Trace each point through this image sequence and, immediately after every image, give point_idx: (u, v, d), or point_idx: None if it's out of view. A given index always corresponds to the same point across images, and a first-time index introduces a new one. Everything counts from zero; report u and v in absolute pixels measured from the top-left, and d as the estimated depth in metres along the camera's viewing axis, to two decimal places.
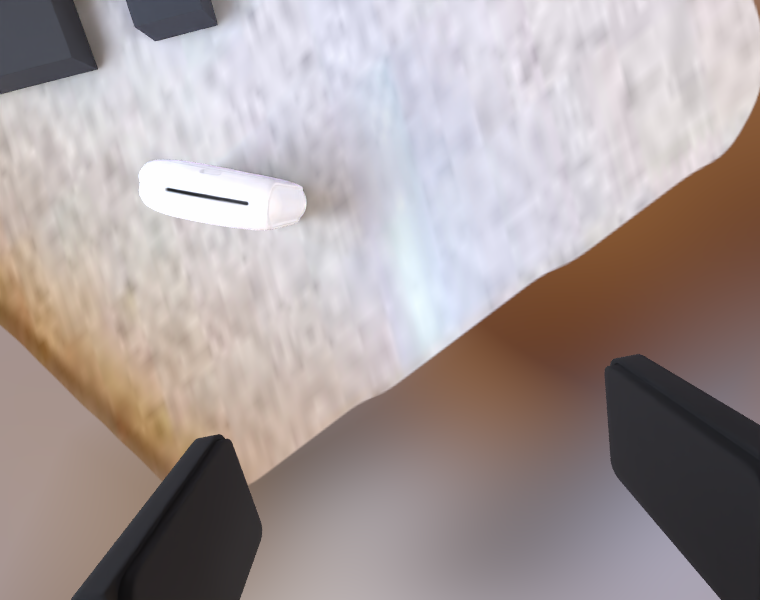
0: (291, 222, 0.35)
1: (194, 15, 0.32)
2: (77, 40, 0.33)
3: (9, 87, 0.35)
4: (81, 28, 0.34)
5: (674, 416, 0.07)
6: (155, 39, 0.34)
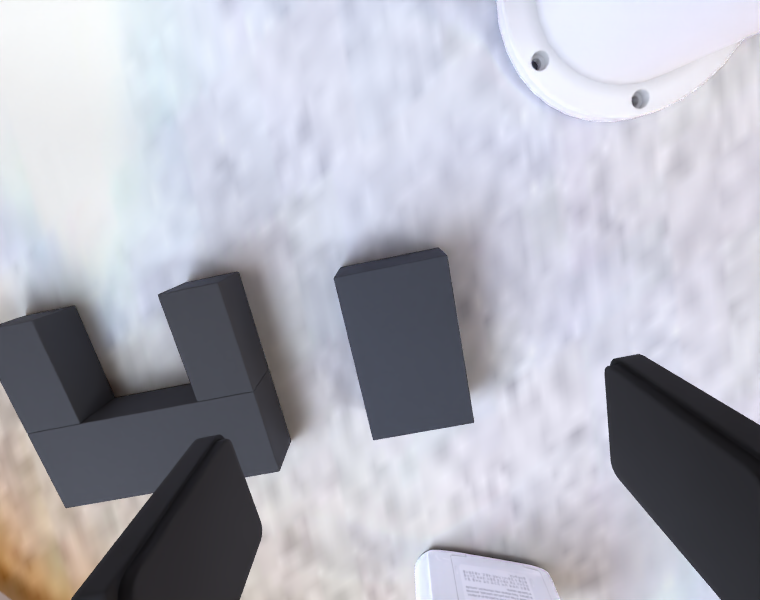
0: None
1: None
2: (278, 430, 0.24)
3: None
4: (277, 401, 0.25)
5: (674, 416, 0.07)
6: None
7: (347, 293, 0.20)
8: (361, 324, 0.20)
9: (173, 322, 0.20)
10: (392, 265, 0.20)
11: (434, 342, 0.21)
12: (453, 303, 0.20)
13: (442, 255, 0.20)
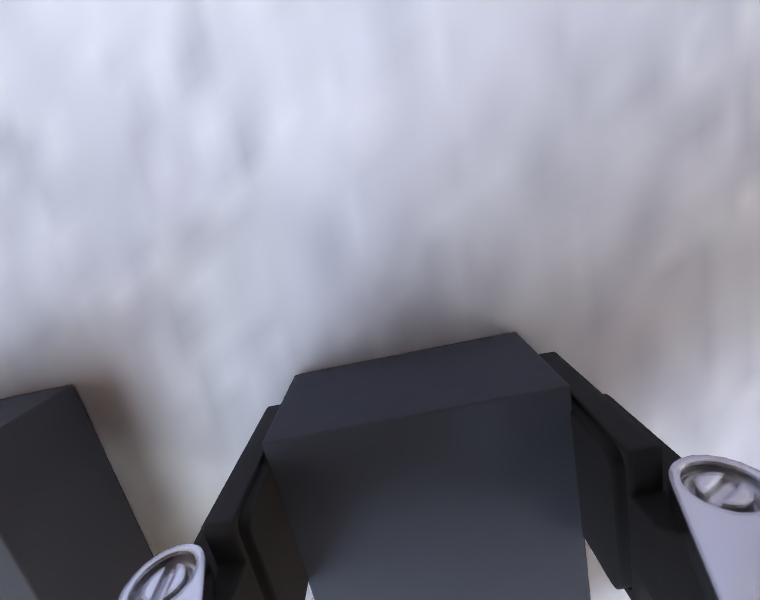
0: None
1: None
2: None
3: None
4: None
5: None
6: None
7: (299, 481, 0.08)
8: (337, 548, 0.08)
9: None
10: (418, 409, 0.07)
11: (523, 586, 0.08)
12: (577, 500, 0.08)
13: (555, 384, 0.07)
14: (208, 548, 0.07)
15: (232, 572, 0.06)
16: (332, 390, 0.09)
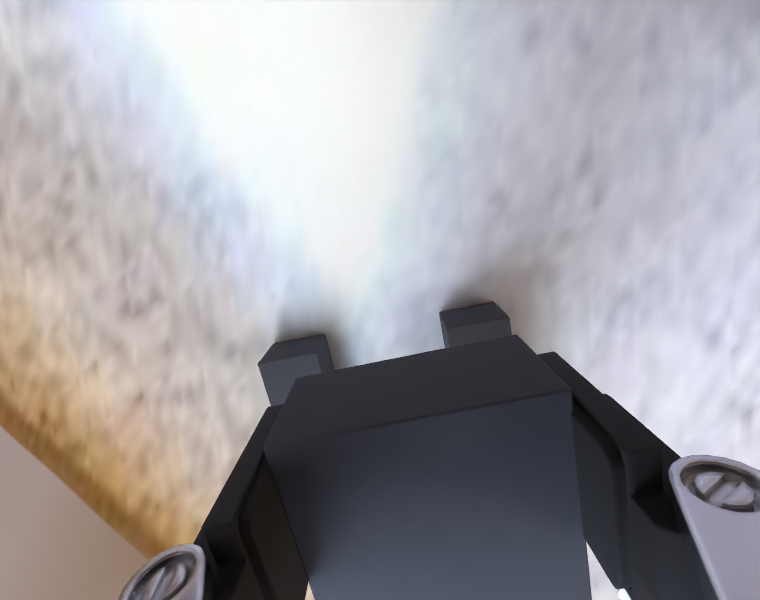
0: None
1: None
2: None
3: None
4: None
5: None
6: None
7: (301, 484, 0.08)
8: (338, 551, 0.08)
9: None
10: (419, 412, 0.07)
11: (524, 588, 0.08)
12: (579, 504, 0.08)
13: (557, 388, 0.07)
14: (208, 548, 0.07)
15: (232, 572, 0.06)
16: (333, 393, 0.09)
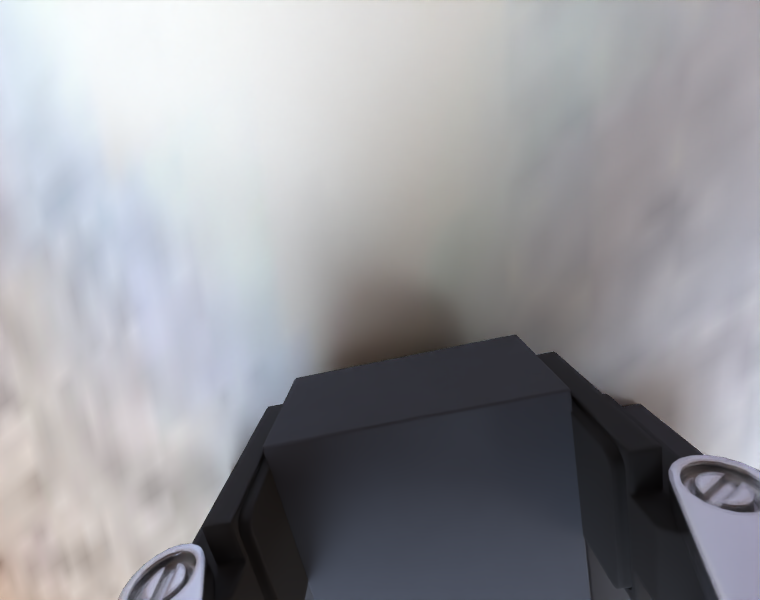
0: None
1: None
2: None
3: None
4: None
5: None
6: None
7: (300, 484, 0.08)
8: (337, 552, 0.08)
9: None
10: (419, 412, 0.07)
11: (523, 589, 0.08)
12: (578, 504, 0.08)
13: (556, 388, 0.07)
14: (208, 548, 0.07)
15: (232, 572, 0.06)
16: (333, 393, 0.09)
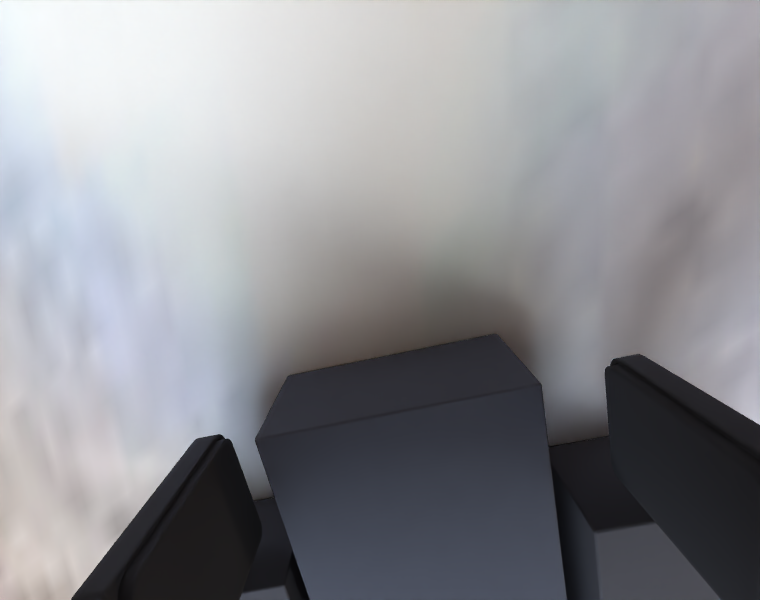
0: None
1: None
2: None
3: None
4: None
5: (674, 416, 0.07)
6: None
7: (290, 474, 0.08)
8: (326, 538, 0.08)
9: (615, 585, 0.09)
10: (401, 406, 0.08)
11: (501, 573, 0.09)
12: (550, 491, 0.08)
13: (528, 382, 0.08)
14: None
15: None
16: (322, 389, 0.09)
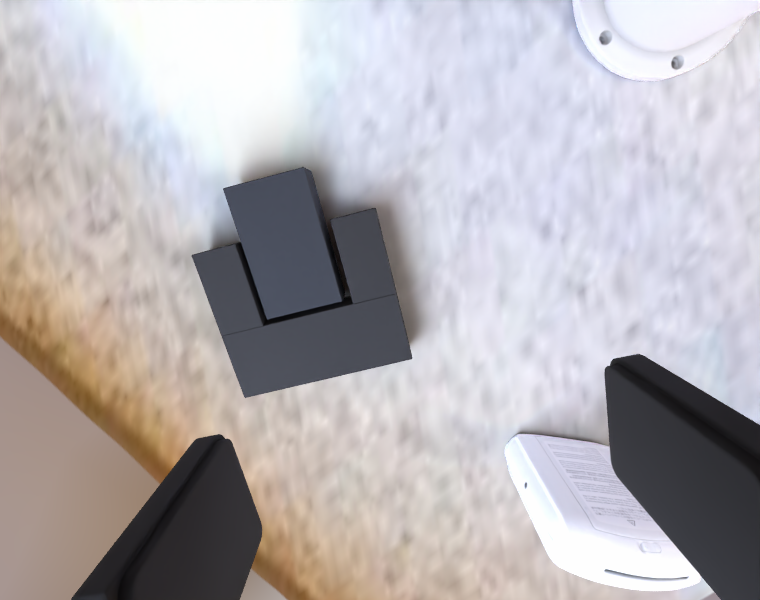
0: None
1: None
2: None
3: None
4: None
5: (674, 416, 0.07)
6: None
7: (234, 200, 0.27)
8: (246, 224, 0.27)
9: (340, 240, 0.28)
10: (265, 177, 0.27)
11: (303, 236, 0.28)
12: (313, 204, 0.27)
13: (301, 168, 0.27)
14: None
15: None
16: None
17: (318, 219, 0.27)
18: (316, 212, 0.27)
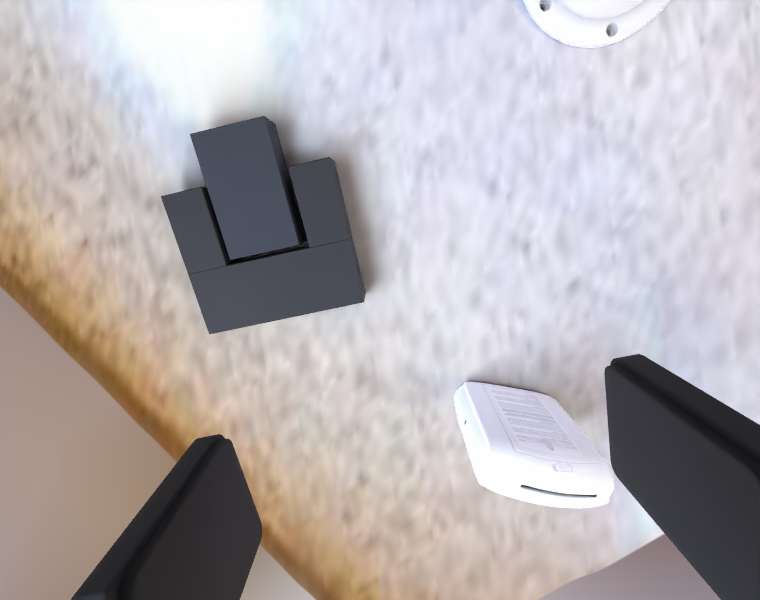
0: None
1: None
2: (360, 277, 0.33)
3: None
4: (357, 260, 0.34)
5: (674, 416, 0.07)
6: None
7: (200, 145, 0.29)
8: (211, 168, 0.30)
9: (297, 186, 0.30)
10: (229, 125, 0.29)
11: (263, 182, 0.30)
12: (273, 152, 0.29)
13: (262, 117, 0.29)
14: None
15: None
16: None
17: (277, 166, 0.30)
18: (275, 159, 0.30)
